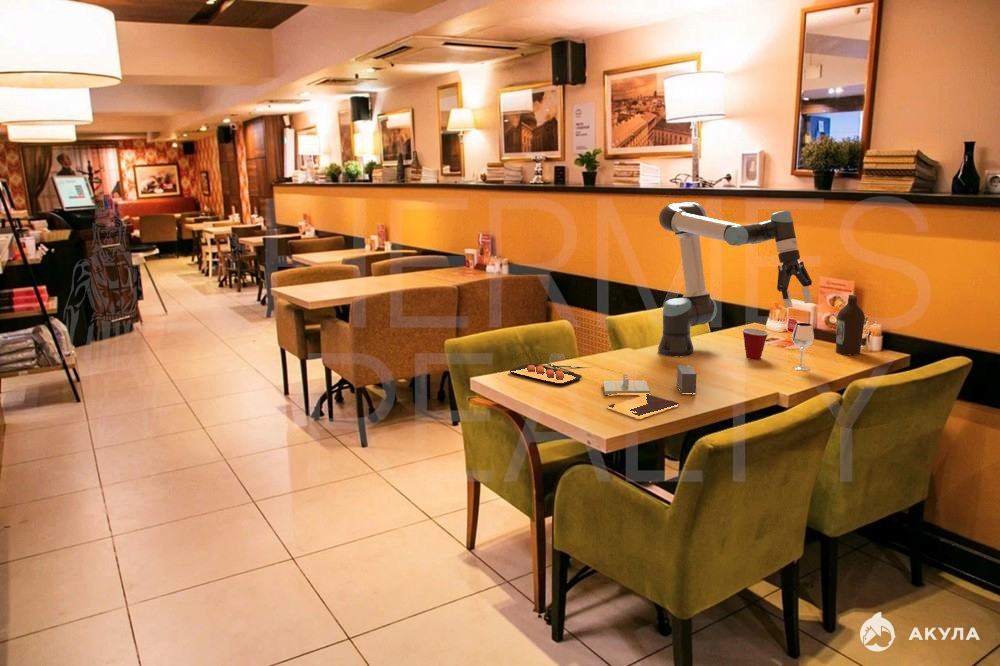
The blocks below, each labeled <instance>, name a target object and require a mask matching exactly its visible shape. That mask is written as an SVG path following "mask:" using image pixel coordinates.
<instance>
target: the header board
mask: <svg viewBox="0 0 1000 666" xmlns="http://www.w3.org/2000/svg"><path fill="white" fill-rule="evenodd" d="M622 375H623V377H622V379H623V380H603V381H602V387H604V388H603V393H604V392H605V393H604V396H605V395H608V394H609V395H611V394H617V393H650V394H651V390H650V387H649V385H648V383H647V380H629V376H628V374H627V373H623V374H622Z"/></svg>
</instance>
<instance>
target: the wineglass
mask: <svg viewBox="0 0 1000 666" xmlns="http://www.w3.org/2000/svg"><path fill="white" fill-rule="evenodd" d="M791 340H792V342H793V344H794V346H796V347H797V348H798V349H799V350H800V361H799V365H793V366H792V367H791V368H792V369H793V370H794V371H795V370H796V371H801V370H802V371H809V370H810V367H808V366H806V365H803V361H804V359H803V358H804V357H803V356H804V351H805V350H806V349H807V348H809V347H810V346H812V345H813V343H814V342H815V333H814V329H813V324H812V323H807V322H798V323H795V325H794V329H793V332H792V335H791Z"/></svg>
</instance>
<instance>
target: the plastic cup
mask: <svg viewBox="0 0 1000 666" xmlns="http://www.w3.org/2000/svg"><path fill="white" fill-rule="evenodd" d="M741 331H742V333H743V342H744V343H743V344H744V350H745V356H746V359H748V360H752V359H753V360H754V361H755V360H757V361H759V360H761V359H762V355H763V352H764V348H765V344H766V340H767V337H768V335H769V334H770V332H769V331H767V330H763V329H760V328H752V327H751V328H749V327H748V328H747V327H746V328H742V329H741Z"/></svg>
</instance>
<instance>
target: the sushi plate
mask: <svg viewBox="0 0 1000 666" xmlns="http://www.w3.org/2000/svg"><path fill="white" fill-rule="evenodd" d="M546 364H547V365H545V364H544V365H541V364H535V363H528V364H524V365H520V366H517V367H514V368H511V369H510V370H509V372H510V373H511V371H516V370H521V369H525V368H527V370H528V372H535V367H536V372H537V374H542V375H543V374H544V373H545V372H544V368H545V369H546V374H547V377H548V378H554V372H555V374H556V379H557V380H563V378H564V374H568V375H572V376H574V377H576V378H575V379H573V380H570V381H567V382H564V383H556V384H555V385H565V384H570V383H572V382H574V381H577V380H580V379H582V378H583V375H582V374H578V373H575V372H574V371H571V370H568V369H566V368H572V367H571V366H572V365H554V364H552V365H553V366H551V363H549V362H546ZM553 367H554V368H553ZM556 367H557V368H556ZM559 368H560V369H559ZM563 373H564V374H563ZM545 381H546V380H545ZM545 381H544V382H545ZM549 382H550V381H548V382H547V383H549ZM569 382H570V383H569ZM554 383H555V382H552V383H551V384H554Z"/></svg>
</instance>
